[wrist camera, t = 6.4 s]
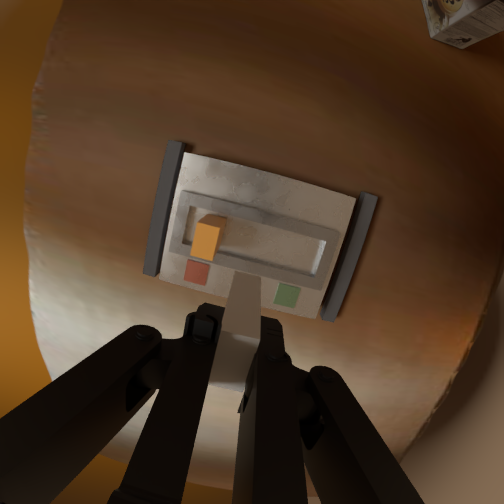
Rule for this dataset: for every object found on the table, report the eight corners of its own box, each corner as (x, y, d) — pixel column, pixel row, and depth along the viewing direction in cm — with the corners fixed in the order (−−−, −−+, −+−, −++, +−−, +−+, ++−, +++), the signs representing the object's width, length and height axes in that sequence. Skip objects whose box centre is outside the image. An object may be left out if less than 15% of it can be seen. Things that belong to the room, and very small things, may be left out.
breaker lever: (207, 213, 30) (197, 222, 25) (226, 218, 30) (220, 227, 25) (201, 241, 31) (190, 255, 26) (219, 246, 31) (212, 261, 26)
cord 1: (172, 141, 32) (168, 139, 31) (185, 143, 32) (181, 142, 31) (147, 269, 36) (142, 273, 35) (158, 272, 36) (154, 277, 35)
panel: (193, 154, 32) (182, 151, 28) (345, 195, 33) (359, 199, 28) (169, 267, 36) (156, 282, 31) (310, 304, 37) (316, 323, 32)
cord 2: (361, 191, 33) (365, 192, 31) (373, 195, 33) (377, 196, 31) (319, 313, 37) (322, 319, 36) (331, 316, 37) (333, 322, 36)
